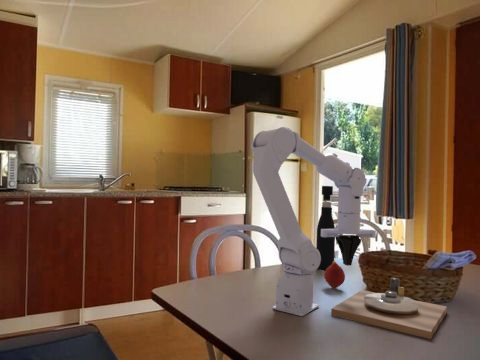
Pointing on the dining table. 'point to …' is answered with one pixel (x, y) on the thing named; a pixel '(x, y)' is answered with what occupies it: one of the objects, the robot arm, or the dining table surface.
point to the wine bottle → (326, 222)
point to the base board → (393, 315)
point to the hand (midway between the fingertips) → (347, 264)
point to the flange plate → (391, 300)
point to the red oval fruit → (334, 275)
